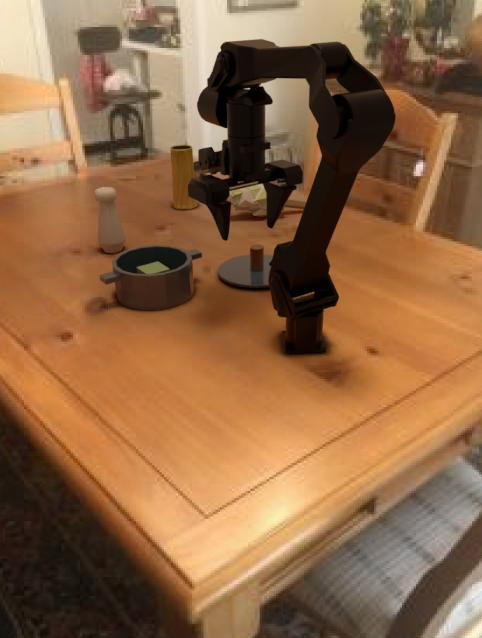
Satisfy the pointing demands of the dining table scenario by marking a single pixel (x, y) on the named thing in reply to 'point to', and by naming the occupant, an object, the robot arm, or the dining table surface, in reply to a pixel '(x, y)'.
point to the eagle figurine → (199, 170)
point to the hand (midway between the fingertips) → (248, 233)
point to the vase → (182, 176)
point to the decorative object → (259, 200)
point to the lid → (247, 269)
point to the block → (152, 268)
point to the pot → (153, 277)
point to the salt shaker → (109, 221)
